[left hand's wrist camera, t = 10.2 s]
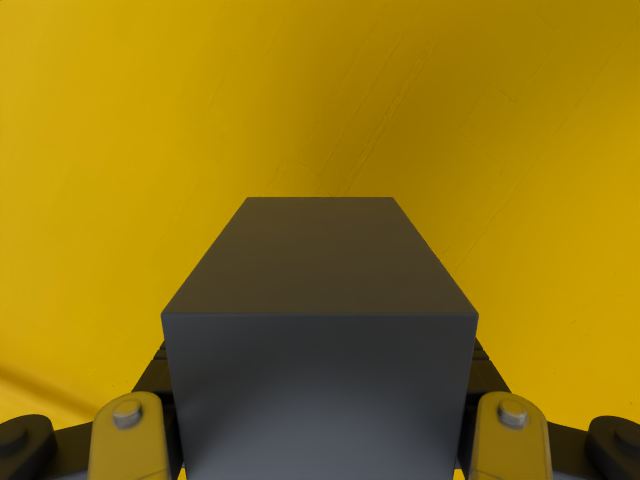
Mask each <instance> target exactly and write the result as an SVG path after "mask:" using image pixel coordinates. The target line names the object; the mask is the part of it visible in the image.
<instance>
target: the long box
mask: <svg viewBox="0 0 640 480" xmlns="http://www.w3.org/2000/svg"><path fill="white" fill-rule="evenodd" d="M478 318H479V314H478V312H477V311H476V309H475V308H474V307H473V305H472V304H471V303H470V301H469V300H468V299H467V297H466V296H465V294H464V293H463V292H462V290H461V289H460V288H459V286H458V285H457V284H456V282H455V281H454V280H453V278H452V277H451V275H450V274H449V273H448V271H447V270H446V269H445V267H444V266H443V265H442V263H441V262H440V261H439V259H438V258H437V257H436V255H435V254H434V252H433V251H432V250H431V248H430V247H429V246H428V244H427V243H426V242H425V240H424V239H423V238H422V236H421V235H420V233H419V232H418V231H417V229H416V228H415V227H414V225H413V224H412V223H411V221H410V220H409V219H408V217H407V216H406V215H405V213H404V212H403V210H402V209H401V208H400V206H399V205H398V204H397V202H396V201H395V200H394V198H393V197H247V198H246V200H245V201H244V202H243V204H242V205H241V206H240V208H239V209H238V210H237V212H236V213H235V214H234V216H233V217H232V218H231V220H230V221H229V223H228V224H227V225H226V227H225V228H224V229H223V231H222V232H221V233H220V235H219V236H218V237H217V239H216V240H215V241H214V243H213V244H212V245H211V247H210V248H209V249H208V251H207V252H206V253H205V255H204V256H203V257H202V259H201V260H200V262H199V263H198V264H197V266H196V267H195V268H194V270H193V271H192V272H191V274H190V275H189V276H188V278H187V279H186V280H185V282H184V283H183V284H182V286H181V287H180V288H179V290H178V291H177V292H176V294H175V295H174V296H173V298H172V299H171V300H170V302H169V303H168V305H167V306H166V307H165V309H164V310H163V311H162V313H161V321H162V327H163V333H164V340H165V346H166V352H167V358H168V365H169V371H170V377H171V384H172V390H173V396H174V403H175V409H176V415H177V422H178V428H179V434H180V440H181V447H182V453H183V459H184V466H185V472H186V478H187V480H453V475H454V469H455V463H456V456H457V450H458V444H459V437H460V431H461V425H462V419H463V412H464V406H465V400H466V393H467V387H468V381H469V374H470V368H471V362H472V355H473V349H474V343H475V337H476V330H477V324H478Z"/></svg>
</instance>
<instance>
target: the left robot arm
mask: <svg viewBox="0 0 640 480" xmlns="http://www.w3.org/2000/svg"><path fill="white" fill-rule="evenodd" d="M181 468H185V466H184V459H183V453H182V447H181V440H180V434H179V428H178V422H177V415H176V409H175V403H174V396H173V390H172V384H171V377H170V371H169V365H168V358H167V352H166V346H165V340H164V341H163V343H162V345H161V346H160V349H159V350H158V351H157V352H156V354H155V356H154V357H153V360H151V362H150V363H149V365H148V367H147V368H146V370H145V371H144V373H143V374H142V376H141V378H140V379H139V381H138V382H137V384H136V385H135V387H134V389H133V390H132V392H131V393H128V394H125V395H122V396H119V397H117V398H115V399H113V400H112V401H110V402H109V403H107V404H106V405H105V406H104V407H102V408H101V409H100V411H99V412H98V413H97V414H96V416H95V418H94V420H93V421H92V422H89V423H85V424H81V425H77V426H73V427H68V428H64V429H60V430H56V431H54V429H53V426H52V423H51V421H50V419H49V418H48V417H46V416H43V415H38V414H32V415H24V416H20V417H16V418H13V419H11V420H8V421H6V422H4V423H1V424H0V480H177V479H178V476H179V473H180V471H181ZM455 469H462V472H463V474H464V477H465V480H640V425H639V424H637V423H635V422H633V421H630V420H627V419H624V418H620V417H615V416H600V417H596V418H594V419H593V420H592V421H591V423H590V426H589V429H588V431H583V430H579V429H575V428H571V427H567V426H562V425H558V424H555V423H551V422H549V421H547V420H546V418H545V416H544V414H543V413H542V412H541V411H540V409H539V408H538V407H536V406H535V405H534V404H533V403H531V402H530V401H528V400H527V399H525V398H523V397H521V396H518V395H515V394H512V393H511V391H510V389H509V388H508V386H507V385H506V383H505V382H504V380H503V379H502V377H501V375H500V374H499V372H498V371H497V369H496V368H495V366H494V365H493V363H492V362H491V360H489V357H488V355H487V354H486V352H485V351H484V350H483V348H482V346H481V344H480V343H479V341H478V340H477V338H476V337H475V343H474V349H473V355H472V362H471V368H470V374H469V381H468V387H467V393H466V400H465V406H464V412H463V419H462V425H461V431H460V437H459V444H458V450H457V456H456V463H455Z"/></svg>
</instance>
